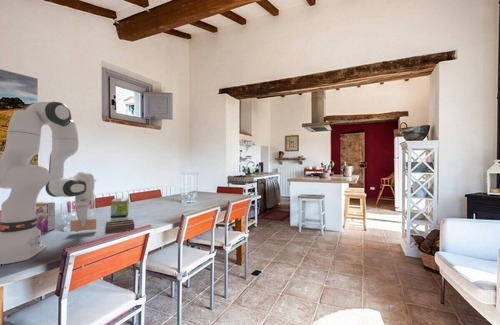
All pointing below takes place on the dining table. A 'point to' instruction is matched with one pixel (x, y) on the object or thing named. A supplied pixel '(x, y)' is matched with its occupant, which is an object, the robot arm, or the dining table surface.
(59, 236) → the dining table surface
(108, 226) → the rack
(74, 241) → the dining table surface
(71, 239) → the dining table surface
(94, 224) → the tile strip
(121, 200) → the tea box
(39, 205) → the candy bar box
